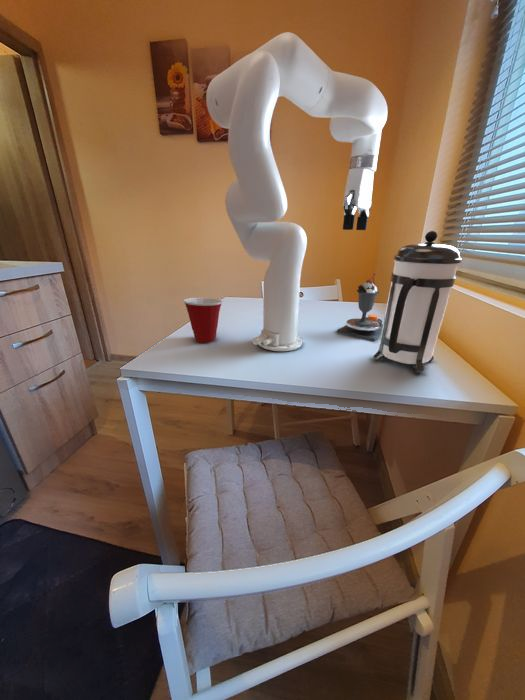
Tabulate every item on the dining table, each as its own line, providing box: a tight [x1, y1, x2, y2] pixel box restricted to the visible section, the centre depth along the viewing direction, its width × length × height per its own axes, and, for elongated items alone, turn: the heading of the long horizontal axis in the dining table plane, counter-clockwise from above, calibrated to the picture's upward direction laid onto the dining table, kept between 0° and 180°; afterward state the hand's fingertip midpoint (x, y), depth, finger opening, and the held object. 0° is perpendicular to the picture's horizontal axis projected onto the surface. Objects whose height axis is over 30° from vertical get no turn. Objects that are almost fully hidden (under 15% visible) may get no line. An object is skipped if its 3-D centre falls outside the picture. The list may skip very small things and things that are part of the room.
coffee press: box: [372, 230, 462, 374], centre depth 63 cm, size 17×16×30 cm
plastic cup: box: [183, 297, 224, 344], centre depth 79 cm, size 11×11×12 cm
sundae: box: [355, 273, 381, 325], centre depth 85 cm, size 7×7×15 cm
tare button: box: [367, 314, 379, 321], centre depth 94 cm, size 3×3×2 cm
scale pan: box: [345, 318, 380, 331], centre depth 88 cm, size 10×10×1 cm
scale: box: [336, 316, 383, 342], centre depth 91 cm, size 16×12×2 cm
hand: (354, 229), depth 88 cm, fingers open, 9 cm apart
